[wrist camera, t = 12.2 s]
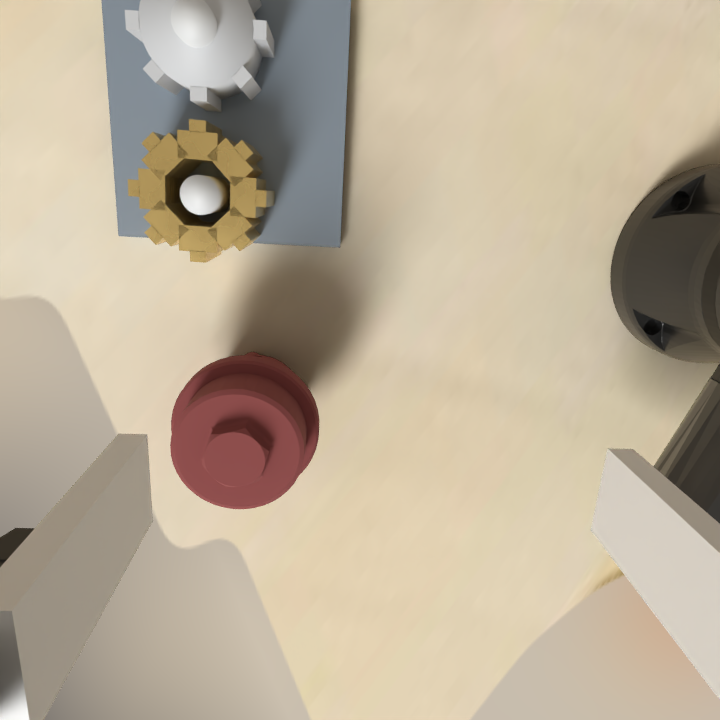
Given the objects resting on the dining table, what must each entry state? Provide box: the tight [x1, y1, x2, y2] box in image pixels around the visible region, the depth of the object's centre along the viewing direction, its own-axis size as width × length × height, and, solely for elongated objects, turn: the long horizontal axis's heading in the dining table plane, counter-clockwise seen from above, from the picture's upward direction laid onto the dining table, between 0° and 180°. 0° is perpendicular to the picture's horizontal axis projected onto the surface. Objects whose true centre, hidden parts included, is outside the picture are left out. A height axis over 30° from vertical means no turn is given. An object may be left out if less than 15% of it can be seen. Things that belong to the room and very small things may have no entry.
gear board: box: [102, 0, 351, 247], centre depth 35 cm, size 16×17×7 cm
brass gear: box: [128, 119, 275, 262], centre depth 36 cm, size 8×8×5 cm
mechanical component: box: [170, 352, 319, 509], centre depth 39 cm, size 12×10×10 cm
